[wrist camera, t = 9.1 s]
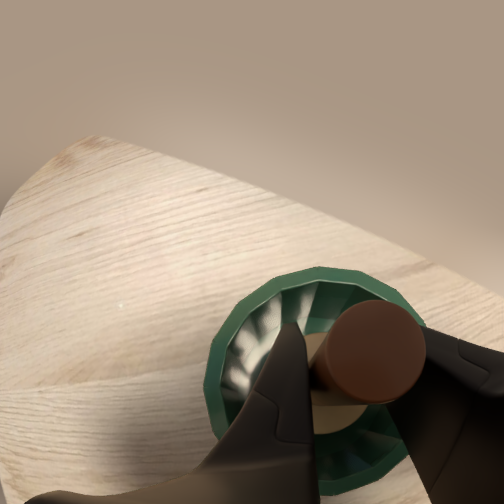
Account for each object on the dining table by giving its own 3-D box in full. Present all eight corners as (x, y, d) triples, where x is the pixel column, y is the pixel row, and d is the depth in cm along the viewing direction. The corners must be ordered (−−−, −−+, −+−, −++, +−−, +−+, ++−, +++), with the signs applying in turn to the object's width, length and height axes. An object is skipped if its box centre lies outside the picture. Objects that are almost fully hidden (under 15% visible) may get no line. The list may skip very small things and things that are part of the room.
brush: (327, 442, 13) (417, 498, 3) (255, 403, 14) (208, 396, 5) (368, 370, 14) (496, 298, 5) (298, 333, 15) (326, 209, 6)
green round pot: (338, 490, 12) (366, 526, 7) (197, 413, 14) (159, 416, 9) (413, 352, 15) (465, 326, 10) (281, 284, 17) (283, 231, 12)
